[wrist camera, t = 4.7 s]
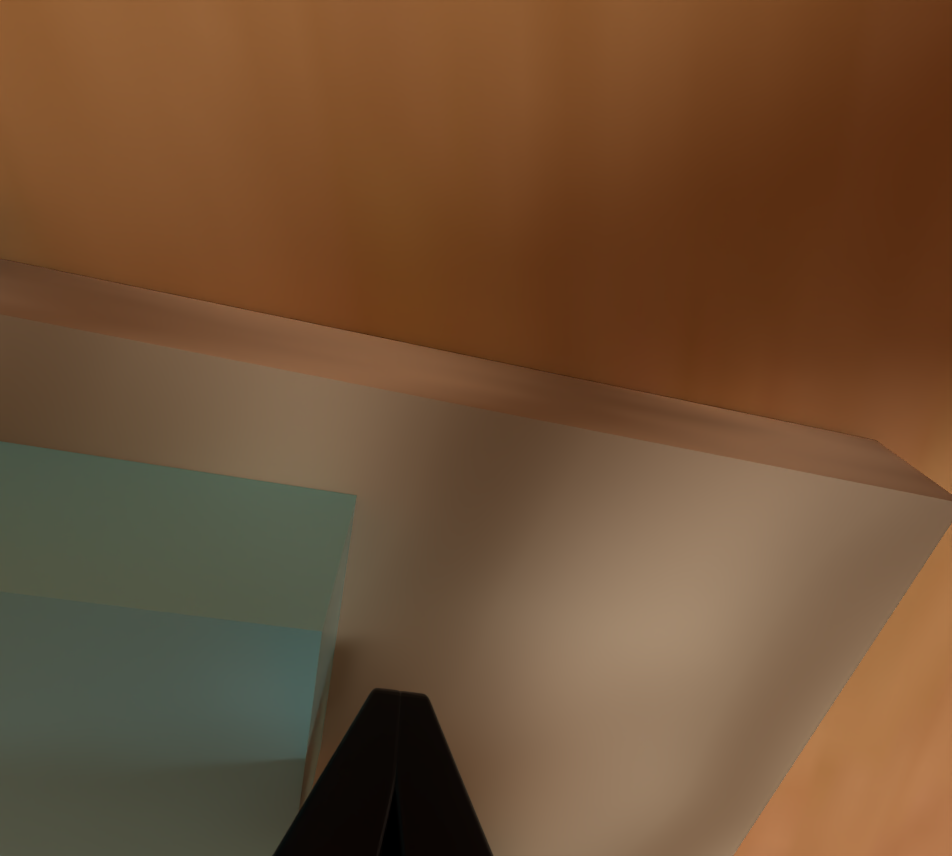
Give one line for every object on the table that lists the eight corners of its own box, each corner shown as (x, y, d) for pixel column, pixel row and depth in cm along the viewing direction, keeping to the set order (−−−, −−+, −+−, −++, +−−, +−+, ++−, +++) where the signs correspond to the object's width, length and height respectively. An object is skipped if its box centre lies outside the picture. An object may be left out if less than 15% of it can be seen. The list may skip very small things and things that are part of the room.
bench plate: (876, 440, 11) (964, 503, 9) (592, 947, 17) (609, 1044, 15) (-8, 256, 9) (-127, 289, 7) (53, 904, 15) (0, 1007, 13)
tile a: (357, 496, 8) (321, 632, 6) (321, 746, 10) (285, 917, 8) (-48, 434, 8) (-253, 560, 5) (0, 713, 10) (-134, 887, 8)
